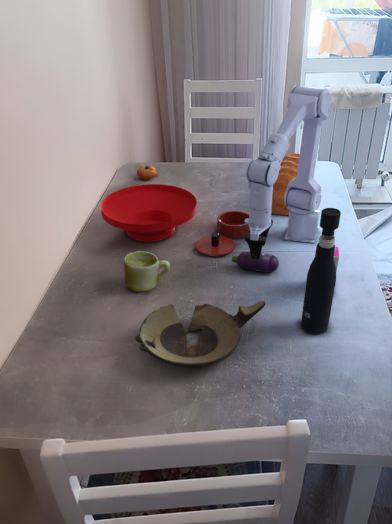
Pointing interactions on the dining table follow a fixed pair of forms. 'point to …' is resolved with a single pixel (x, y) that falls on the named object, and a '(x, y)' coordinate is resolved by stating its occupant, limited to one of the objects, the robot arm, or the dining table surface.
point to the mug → (143, 270)
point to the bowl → (149, 210)
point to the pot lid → (215, 245)
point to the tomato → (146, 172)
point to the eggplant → (256, 262)
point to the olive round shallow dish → (204, 318)
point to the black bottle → (321, 277)
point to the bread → (284, 183)
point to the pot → (233, 224)
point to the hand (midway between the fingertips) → (258, 251)
